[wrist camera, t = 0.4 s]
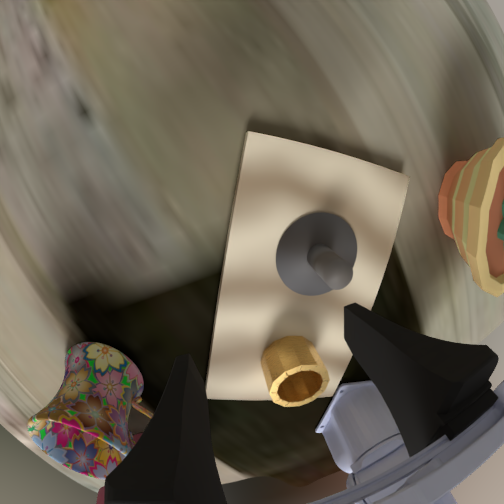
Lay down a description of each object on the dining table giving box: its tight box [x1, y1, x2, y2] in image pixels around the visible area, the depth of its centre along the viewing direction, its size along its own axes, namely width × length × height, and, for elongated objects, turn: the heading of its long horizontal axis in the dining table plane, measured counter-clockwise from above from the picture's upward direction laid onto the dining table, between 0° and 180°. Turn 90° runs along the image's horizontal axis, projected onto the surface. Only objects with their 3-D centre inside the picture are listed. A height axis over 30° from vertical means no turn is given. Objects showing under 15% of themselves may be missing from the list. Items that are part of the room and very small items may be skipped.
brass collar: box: [260, 336, 330, 407], centre depth 23 cm, size 5×5×4 cm
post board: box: [205, 131, 410, 400], centre depth 22 cm, size 24×14×5 cm, turn 169°
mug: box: [27, 342, 153, 480], centre depth 19 cm, size 12×9×11 cm
